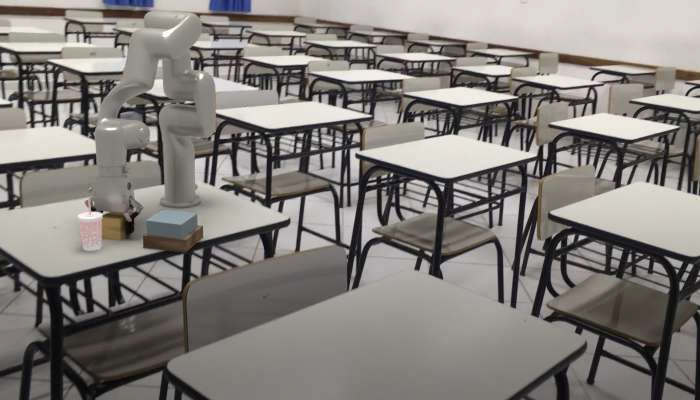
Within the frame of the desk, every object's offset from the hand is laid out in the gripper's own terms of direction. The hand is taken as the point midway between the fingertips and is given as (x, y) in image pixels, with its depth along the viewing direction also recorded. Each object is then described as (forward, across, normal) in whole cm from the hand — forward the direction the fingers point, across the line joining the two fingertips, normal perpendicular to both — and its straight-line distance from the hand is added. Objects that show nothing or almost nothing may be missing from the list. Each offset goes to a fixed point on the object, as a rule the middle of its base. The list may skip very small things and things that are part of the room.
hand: (115, 231), depth 191 cm
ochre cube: (+1, 0, 0) cm, 1 cm away
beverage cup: (+1, +1, +10) cm, 10 cm away
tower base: (+2, -17, 0) cm, 17 cm away
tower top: (-2, -17, 0) cm, 17 cm away
